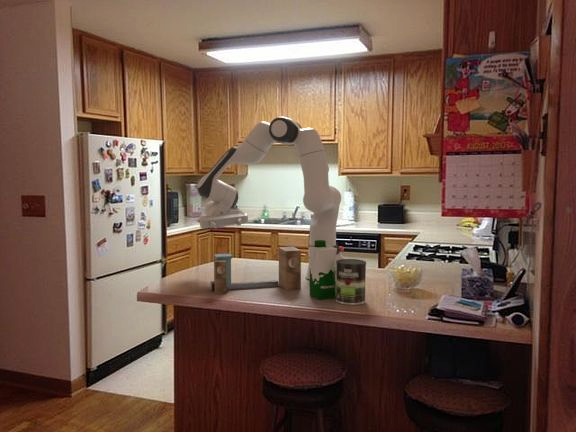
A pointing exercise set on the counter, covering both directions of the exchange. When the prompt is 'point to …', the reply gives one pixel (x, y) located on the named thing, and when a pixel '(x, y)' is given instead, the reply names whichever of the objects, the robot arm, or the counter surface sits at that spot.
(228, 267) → the carriage
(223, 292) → the gauge post
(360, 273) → the coffee can
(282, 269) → the gauge cabinet
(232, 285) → the handrail
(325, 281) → the milk carton
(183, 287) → the counter surface
